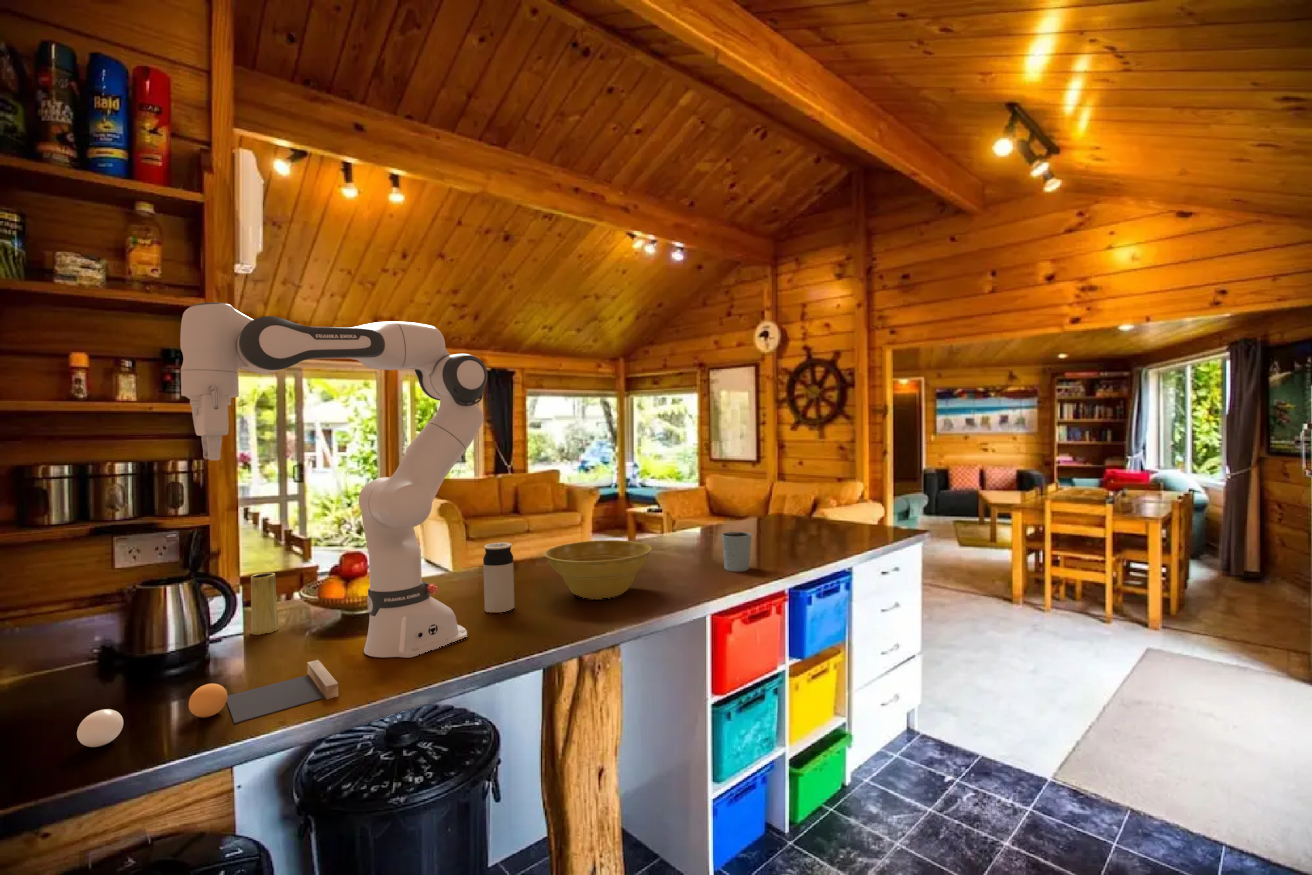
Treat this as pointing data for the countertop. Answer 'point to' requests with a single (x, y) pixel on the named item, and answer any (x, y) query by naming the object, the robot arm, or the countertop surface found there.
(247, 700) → the dark gray mat
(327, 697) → the pine strip
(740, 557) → the grey cup
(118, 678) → the countertop surface
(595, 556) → the planter bowl
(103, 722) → the white egg
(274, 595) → the vase
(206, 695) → the orange egg
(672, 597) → the countertop surface
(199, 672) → the countertop surface
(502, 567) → the travel mug
